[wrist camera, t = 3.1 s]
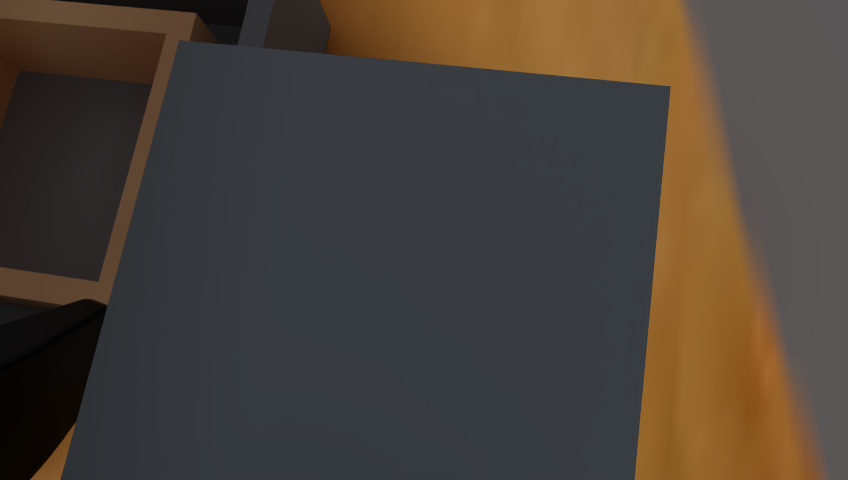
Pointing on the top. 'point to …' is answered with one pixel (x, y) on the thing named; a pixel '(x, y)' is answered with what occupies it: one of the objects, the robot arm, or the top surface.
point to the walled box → (98, 125)
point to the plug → (380, 276)
